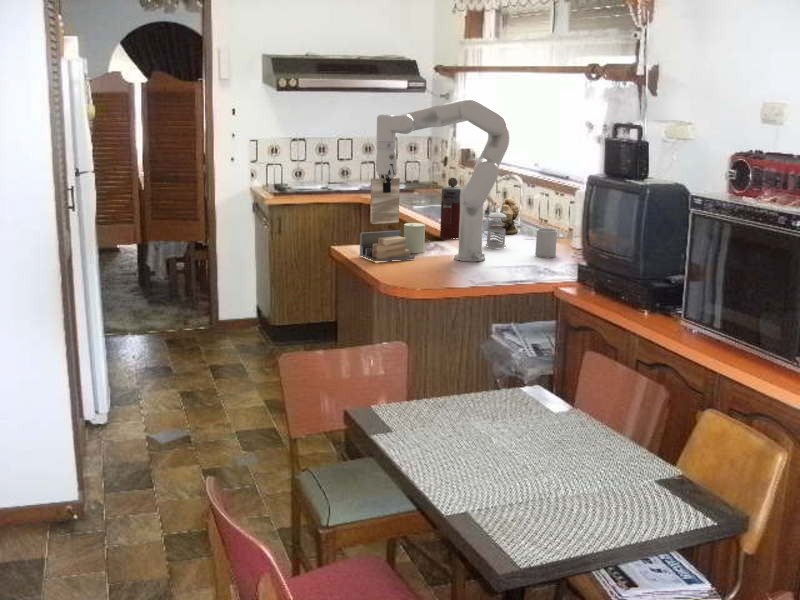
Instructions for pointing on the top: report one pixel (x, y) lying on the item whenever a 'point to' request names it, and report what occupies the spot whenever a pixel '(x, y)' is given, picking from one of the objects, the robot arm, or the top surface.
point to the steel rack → (373, 238)
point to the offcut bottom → (391, 254)
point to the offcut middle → (388, 248)
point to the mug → (546, 243)
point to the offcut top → (392, 241)
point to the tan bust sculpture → (509, 216)
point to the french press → (496, 231)
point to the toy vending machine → (450, 210)
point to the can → (414, 237)
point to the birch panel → (384, 202)
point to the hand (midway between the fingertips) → (385, 191)
